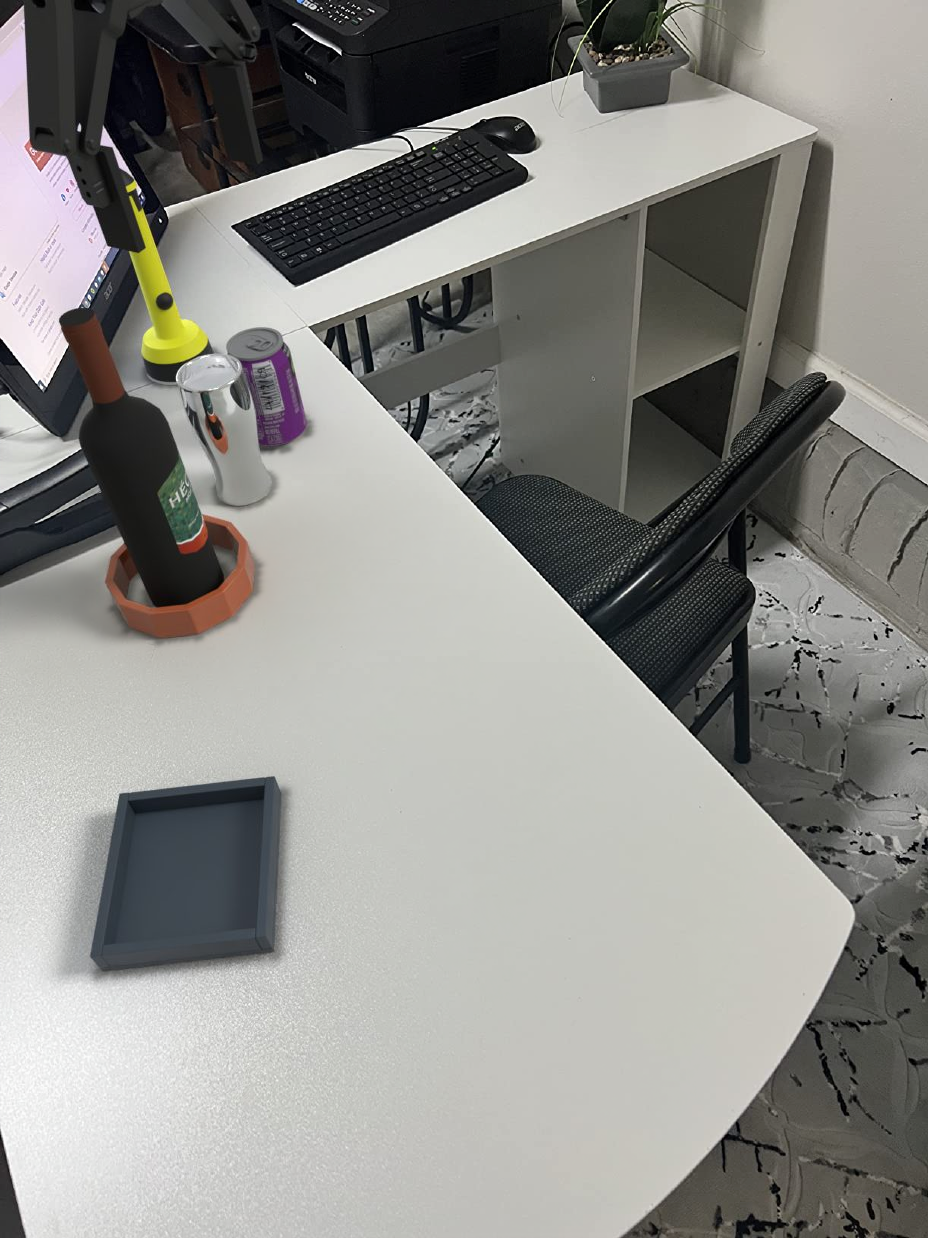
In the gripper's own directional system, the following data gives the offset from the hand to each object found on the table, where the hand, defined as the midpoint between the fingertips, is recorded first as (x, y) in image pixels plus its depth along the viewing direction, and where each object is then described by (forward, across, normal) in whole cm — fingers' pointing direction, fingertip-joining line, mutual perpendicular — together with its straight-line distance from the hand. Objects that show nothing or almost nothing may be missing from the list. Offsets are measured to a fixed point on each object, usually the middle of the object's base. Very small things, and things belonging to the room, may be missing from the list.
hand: (189, 201), depth 68 cm
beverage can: (+39, +19, +16) cm, 46 cm away
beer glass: (+39, +9, +13) cm, 42 cm away
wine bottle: (+38, -6, +10) cm, 40 cm away
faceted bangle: (+38, -6, +10) cm, 40 cm away
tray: (+38, -31, -11) cm, 50 cm away
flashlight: (+39, +27, +36) cm, 60 cm away
